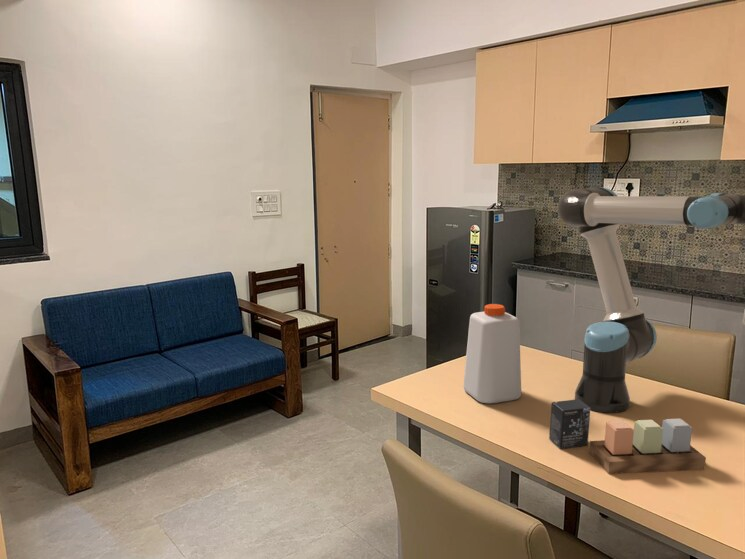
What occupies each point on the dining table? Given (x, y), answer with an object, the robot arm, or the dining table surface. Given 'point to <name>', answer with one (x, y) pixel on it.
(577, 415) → the box
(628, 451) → the salmon pink block
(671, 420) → the slate button
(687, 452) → the wooden tray
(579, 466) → the dining table surface
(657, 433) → the sage button
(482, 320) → the plastic bottle
